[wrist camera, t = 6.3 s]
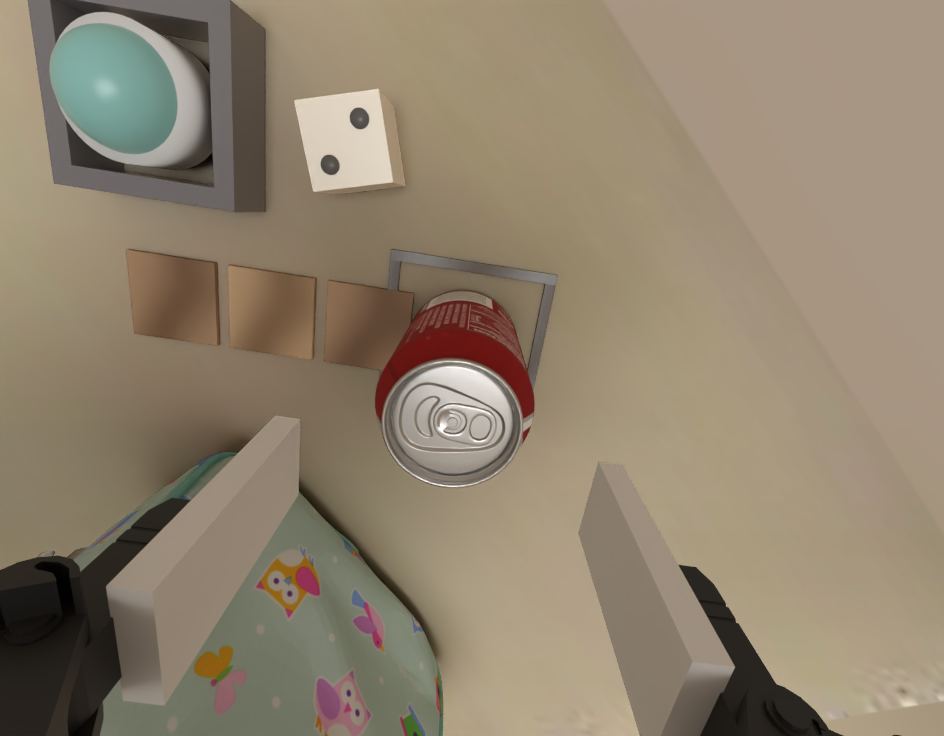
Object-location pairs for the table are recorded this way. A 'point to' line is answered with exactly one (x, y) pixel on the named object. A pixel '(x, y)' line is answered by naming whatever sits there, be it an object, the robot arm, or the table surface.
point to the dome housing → (232, 102)
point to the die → (350, 142)
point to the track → (294, 307)
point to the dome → (132, 92)
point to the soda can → (456, 392)
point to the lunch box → (292, 643)
